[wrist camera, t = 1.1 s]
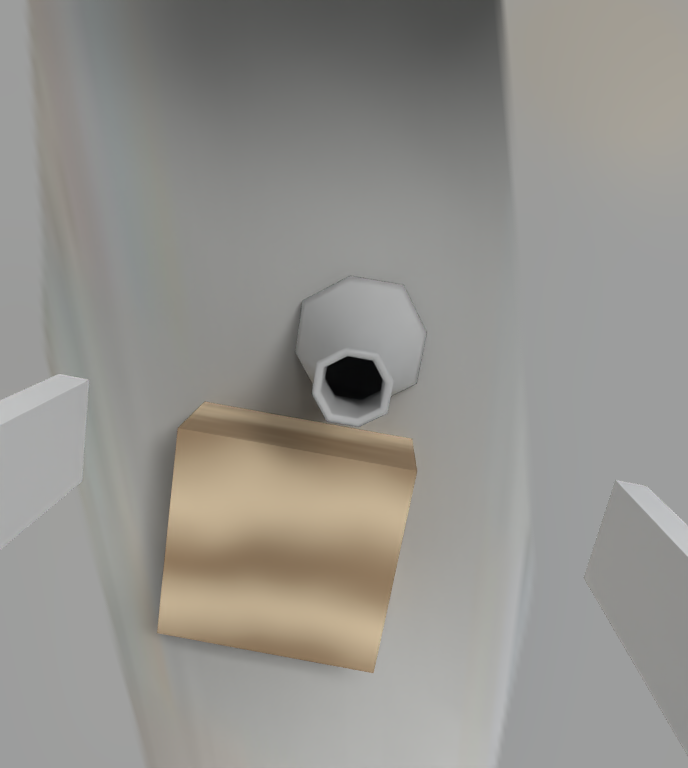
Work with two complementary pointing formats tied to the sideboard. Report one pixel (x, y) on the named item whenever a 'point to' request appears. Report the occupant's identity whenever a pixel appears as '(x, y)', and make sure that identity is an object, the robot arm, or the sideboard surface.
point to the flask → (359, 347)
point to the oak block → (284, 535)
